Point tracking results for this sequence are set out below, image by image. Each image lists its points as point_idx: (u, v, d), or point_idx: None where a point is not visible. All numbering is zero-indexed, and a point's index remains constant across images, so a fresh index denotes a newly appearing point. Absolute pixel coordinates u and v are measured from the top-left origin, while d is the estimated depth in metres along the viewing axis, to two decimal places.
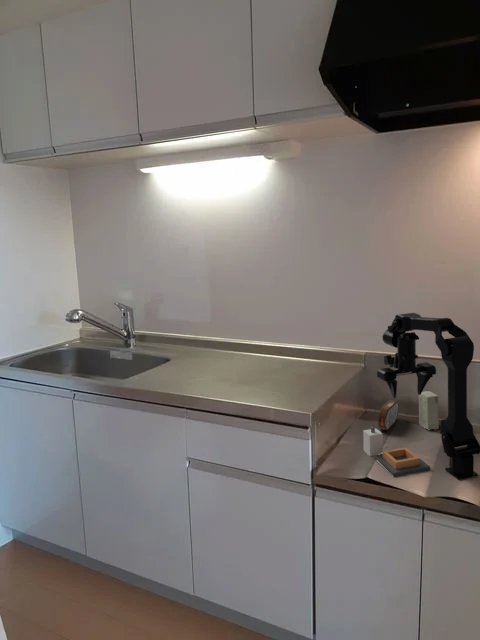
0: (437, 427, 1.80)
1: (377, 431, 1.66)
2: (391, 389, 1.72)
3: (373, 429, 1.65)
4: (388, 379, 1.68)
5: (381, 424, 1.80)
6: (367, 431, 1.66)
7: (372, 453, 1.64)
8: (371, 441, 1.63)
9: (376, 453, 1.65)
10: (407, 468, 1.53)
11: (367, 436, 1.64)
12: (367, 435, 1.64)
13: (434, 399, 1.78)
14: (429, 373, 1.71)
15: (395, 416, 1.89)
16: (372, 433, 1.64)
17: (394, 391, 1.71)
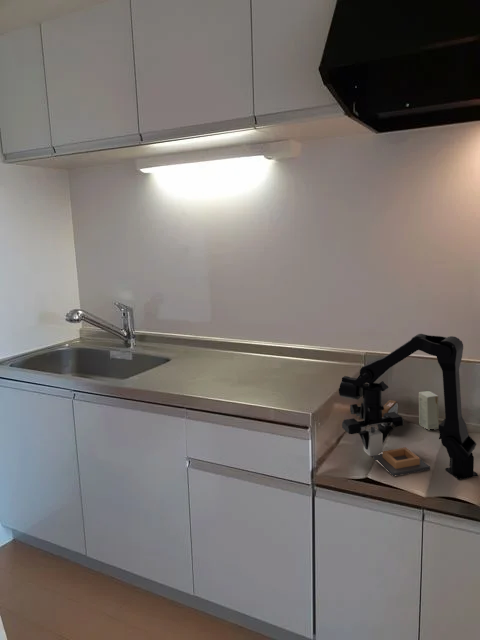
0: (437, 427, 1.80)
1: (377, 431, 1.66)
2: (363, 440, 1.65)
3: (373, 429, 1.65)
4: (352, 432, 1.60)
5: None
6: None
7: (372, 453, 1.64)
8: (371, 441, 1.63)
9: (376, 453, 1.65)
10: (407, 468, 1.53)
11: None
12: None
13: (434, 399, 1.78)
14: (396, 425, 1.63)
15: None
16: (372, 433, 1.64)
17: (366, 442, 1.64)
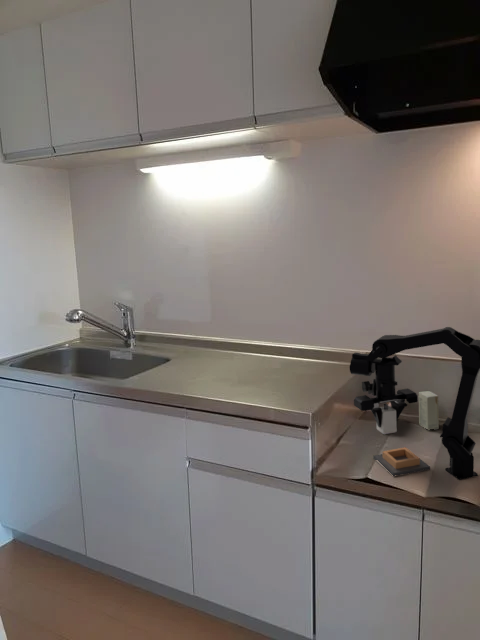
0: (437, 427, 1.80)
1: (390, 408, 1.60)
2: (376, 417, 1.59)
3: (386, 406, 1.59)
4: (365, 409, 1.54)
5: None
6: None
7: (385, 431, 1.58)
8: (384, 418, 1.57)
9: (390, 431, 1.58)
10: (407, 468, 1.53)
11: None
12: None
13: (434, 399, 1.78)
14: (410, 401, 1.57)
15: None
16: (385, 410, 1.58)
17: (379, 420, 1.58)
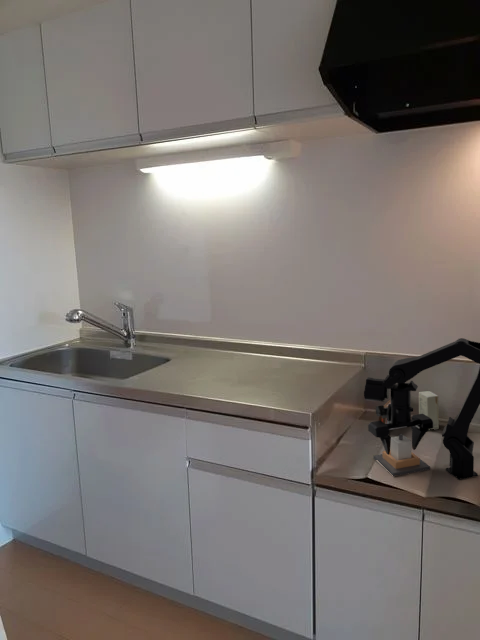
0: (437, 427, 1.80)
1: (405, 438, 1.57)
2: (384, 444, 1.55)
3: (401, 436, 1.56)
4: (380, 435, 1.51)
5: None
6: (395, 438, 1.57)
7: None
8: (399, 449, 1.54)
9: None
10: (407, 468, 1.53)
11: (395, 444, 1.56)
12: (395, 443, 1.55)
13: (434, 399, 1.78)
14: (425, 427, 1.54)
15: None
16: (400, 441, 1.55)
17: (388, 447, 1.54)
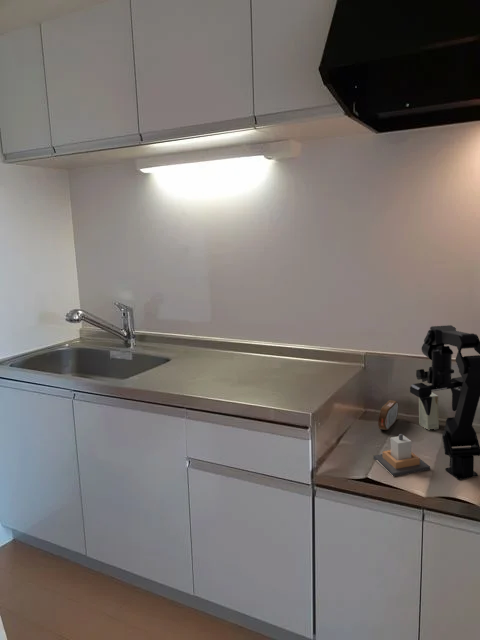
0: (437, 427, 1.80)
1: (405, 438, 1.57)
2: (425, 406, 1.62)
3: (401, 436, 1.56)
4: (423, 395, 1.58)
5: (381, 424, 1.80)
6: (395, 438, 1.57)
7: None
8: (399, 449, 1.54)
9: None
10: (407, 468, 1.53)
11: (395, 444, 1.56)
12: (395, 443, 1.55)
13: (434, 399, 1.78)
14: None
15: (395, 416, 1.89)
16: (400, 441, 1.55)
17: (428, 408, 1.61)
